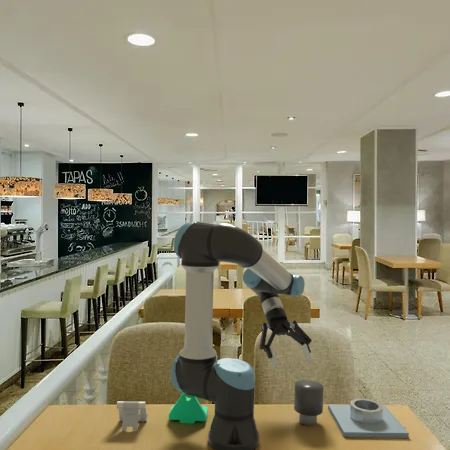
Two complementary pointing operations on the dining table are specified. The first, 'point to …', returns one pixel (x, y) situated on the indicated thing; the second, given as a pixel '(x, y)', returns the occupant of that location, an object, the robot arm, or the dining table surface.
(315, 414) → the dome-topped grey cylinder
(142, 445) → the dining table surface
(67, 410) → the dining table surface
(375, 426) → the board
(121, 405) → the portable electronic device stand
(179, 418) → the camera mount
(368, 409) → the pale grey faceted ring
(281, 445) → the dining table surface
